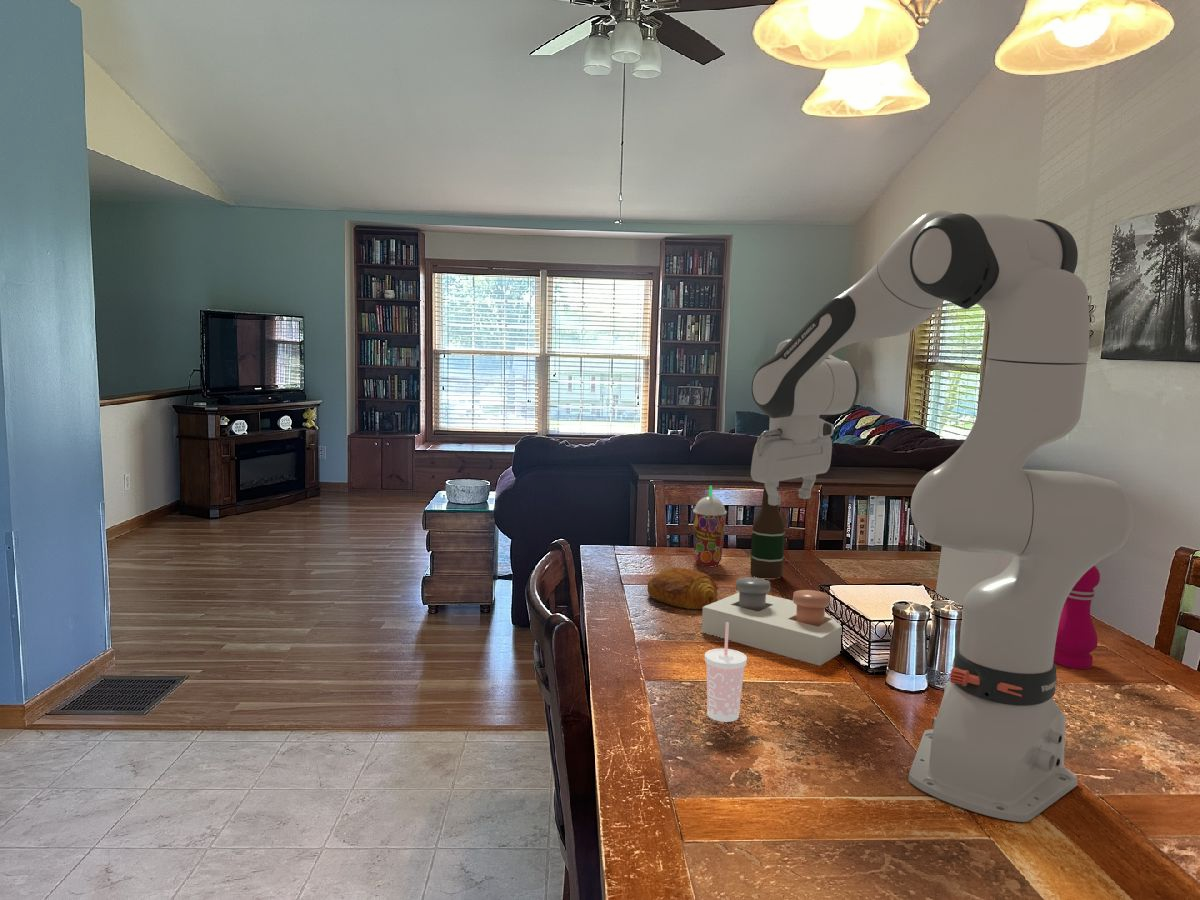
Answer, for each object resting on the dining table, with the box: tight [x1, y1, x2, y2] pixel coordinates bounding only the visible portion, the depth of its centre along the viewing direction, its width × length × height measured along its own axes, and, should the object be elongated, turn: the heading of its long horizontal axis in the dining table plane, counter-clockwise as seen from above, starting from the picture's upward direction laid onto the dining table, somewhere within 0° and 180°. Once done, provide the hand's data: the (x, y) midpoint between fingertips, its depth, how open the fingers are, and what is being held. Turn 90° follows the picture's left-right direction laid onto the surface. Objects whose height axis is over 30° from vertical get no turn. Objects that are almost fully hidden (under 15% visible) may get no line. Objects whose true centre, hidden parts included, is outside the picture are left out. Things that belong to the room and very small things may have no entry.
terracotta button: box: [792, 589, 831, 627], centre depth 150 cm, size 6×6×6 cm
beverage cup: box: [704, 622, 748, 723], centre depth 120 cm, size 6×6×14 cm
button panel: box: [701, 592, 842, 667], centre depth 154 cm, size 16×24×5 cm, turn 50°
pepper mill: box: [1053, 565, 1101, 670], centre depth 144 cm, size 7×7×20 cm
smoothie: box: [692, 485, 728, 567], centre depth 205 cm, size 8×8×20 cm
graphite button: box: [735, 576, 771, 611], centre depth 157 cm, size 6×6×6 cm
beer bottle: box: [750, 483, 786, 578], centre depth 196 cm, size 8×8×24 cm
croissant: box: [646, 566, 719, 610], centre depth 176 cm, size 14×16×8 cm
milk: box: [935, 546, 1015, 605], centre depth 166 cm, size 12×12×26 cm
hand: (789, 501), depth 152 cm, fingers open, 8 cm apart
